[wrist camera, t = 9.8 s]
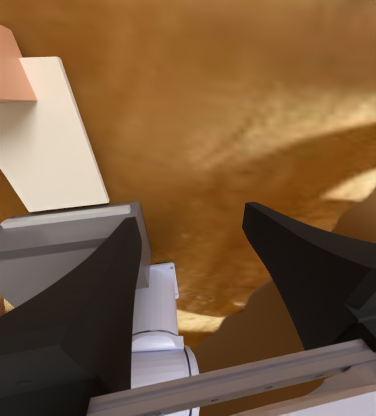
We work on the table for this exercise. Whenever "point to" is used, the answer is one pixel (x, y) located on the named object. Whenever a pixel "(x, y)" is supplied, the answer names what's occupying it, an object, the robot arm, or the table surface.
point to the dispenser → (59, 246)
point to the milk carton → (2, 306)
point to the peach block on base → (43, 134)
